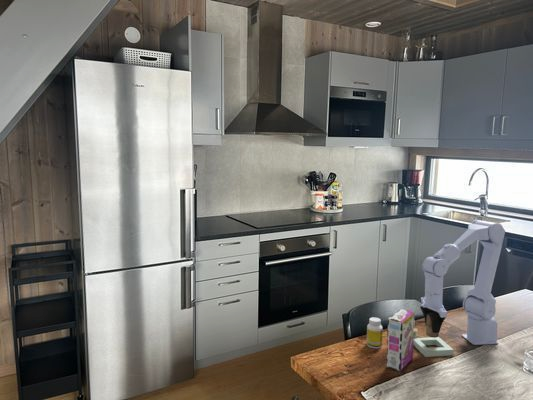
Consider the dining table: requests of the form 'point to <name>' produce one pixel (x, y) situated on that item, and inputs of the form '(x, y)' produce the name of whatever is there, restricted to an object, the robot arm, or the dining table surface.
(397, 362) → the candy bar box
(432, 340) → the hole board
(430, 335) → the brown wooden peg
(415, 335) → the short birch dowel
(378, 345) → the supplement bottle
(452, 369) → the dining table surface
